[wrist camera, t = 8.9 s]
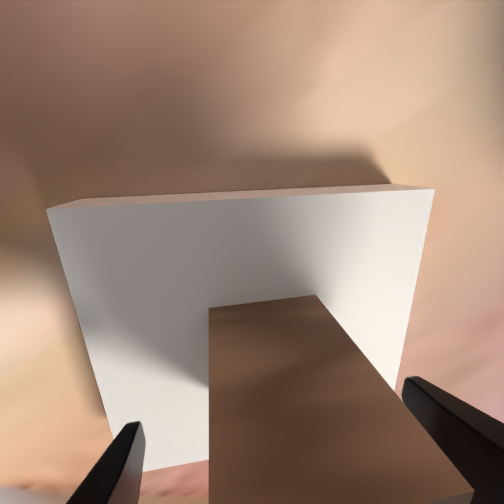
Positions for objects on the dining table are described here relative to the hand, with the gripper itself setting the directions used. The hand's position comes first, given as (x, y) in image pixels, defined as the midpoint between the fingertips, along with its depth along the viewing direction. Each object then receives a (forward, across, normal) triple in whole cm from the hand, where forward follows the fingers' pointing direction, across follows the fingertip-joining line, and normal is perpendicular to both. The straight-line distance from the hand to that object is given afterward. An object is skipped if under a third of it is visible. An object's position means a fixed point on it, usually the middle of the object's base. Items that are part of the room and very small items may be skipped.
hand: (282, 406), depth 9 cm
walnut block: (+3, 0, 0) cm, 3 cm away
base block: (+6, 0, 0) cm, 6 cm away
